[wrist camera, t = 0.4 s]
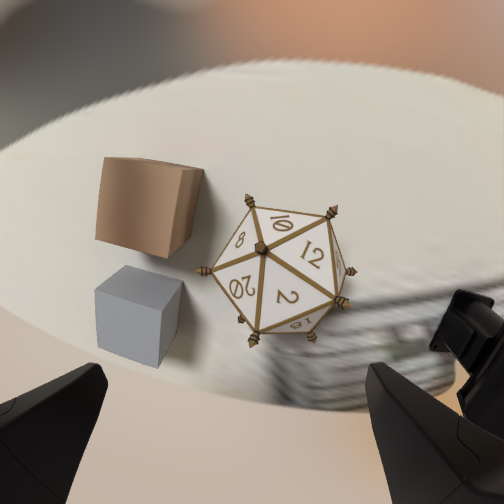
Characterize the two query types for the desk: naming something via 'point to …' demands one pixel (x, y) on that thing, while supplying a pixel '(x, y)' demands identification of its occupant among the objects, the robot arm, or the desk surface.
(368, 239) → the desk surface
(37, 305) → the desk surface
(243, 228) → the game die
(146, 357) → the slate block
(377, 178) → the desk surface
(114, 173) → the walnut block
